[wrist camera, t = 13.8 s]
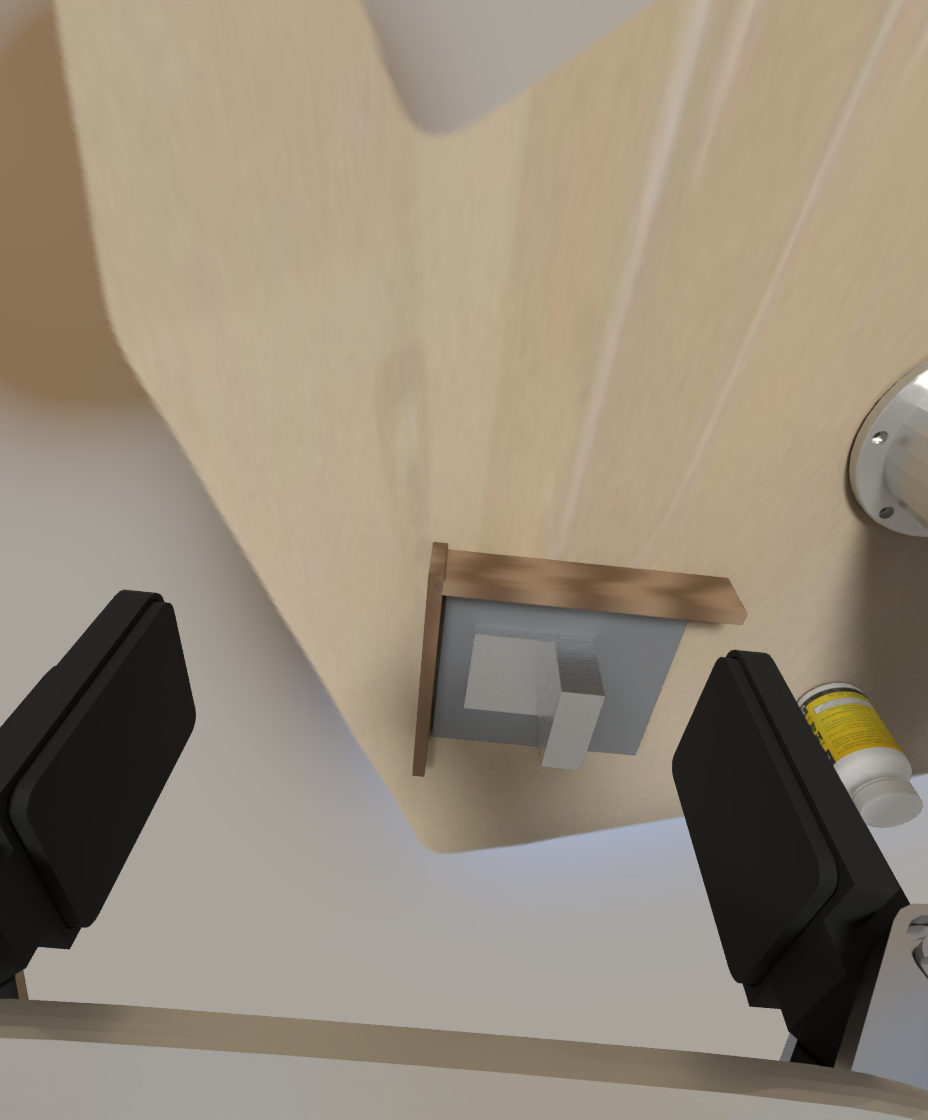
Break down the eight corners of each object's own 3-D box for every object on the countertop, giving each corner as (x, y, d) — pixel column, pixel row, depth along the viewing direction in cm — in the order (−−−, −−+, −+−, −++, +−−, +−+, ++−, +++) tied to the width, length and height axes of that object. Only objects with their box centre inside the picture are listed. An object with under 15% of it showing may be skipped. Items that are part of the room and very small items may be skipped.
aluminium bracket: (571, 709, 51) (580, 770, 46) (464, 698, 51) (461, 758, 46) (592, 637, 46) (605, 696, 42) (475, 625, 46) (473, 682, 41)
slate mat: (697, 590, 44) (699, 593, 44) (634, 751, 54) (635, 755, 54) (449, 565, 44) (449, 568, 43) (432, 732, 54) (431, 736, 53)
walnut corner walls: (730, 572, 43) (750, 607, 40) (651, 759, 55) (662, 798, 51) (433, 542, 43) (428, 575, 39) (417, 737, 54) (412, 775, 51)
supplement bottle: (785, 693, 50) (843, 800, 42) (856, 671, 48) (931, 777, 40) (800, 733, 52) (857, 841, 44) (868, 713, 51) (940, 821, 42)
